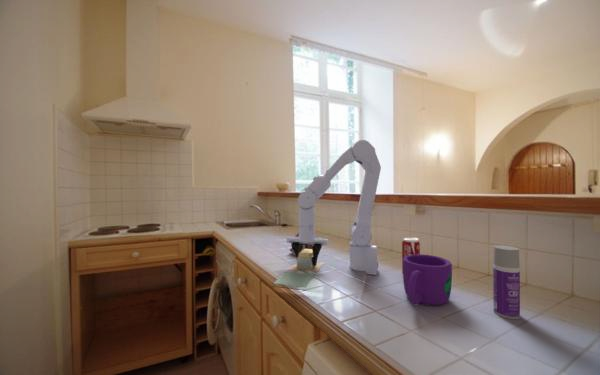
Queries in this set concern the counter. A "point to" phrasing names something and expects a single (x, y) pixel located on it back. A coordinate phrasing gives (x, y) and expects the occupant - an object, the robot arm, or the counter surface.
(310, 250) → the cover
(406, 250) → the soda can
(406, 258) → the mug
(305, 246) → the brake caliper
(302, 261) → the base
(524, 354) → the counter surface
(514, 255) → the container
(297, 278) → the stand
